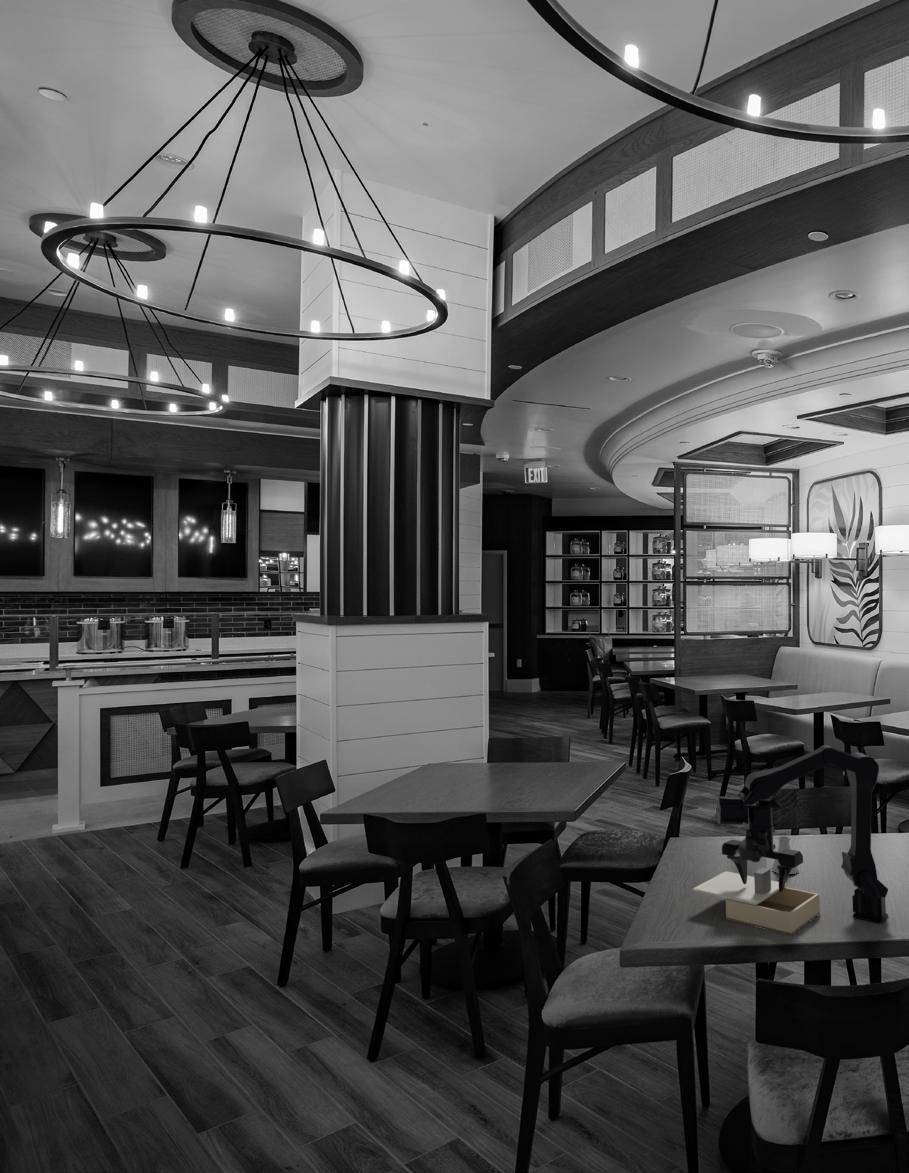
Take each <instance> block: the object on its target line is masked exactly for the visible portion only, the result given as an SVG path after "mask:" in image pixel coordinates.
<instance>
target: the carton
mask: <svg viewBox="0 0 909 1173" xmlns="http://www.w3.org/2000/svg"><path fill="white" fill-rule="evenodd" d="M820 907H821V906H820V894H819V893H817V892H816V893H815V892H811V891H807V890H806V891H805V890H802V889H797V888H793V887H792V888H791V887H787V886H786V887H784V888H783V891H782V892H779V891H778V892H776V893H775V894H773V895H771V896H770V897H768V898H767V899H765V900H763V901H762V902H760V903H759V904H757V905H753V904H748V903H744V902H740V901H735V900H731V899H727V898H725V917H726V918H725V920H726V921H729V920H730V922H735V923H738V924H742V923H743V924H742V925H746V924H748V925H747V926H750V925H752V926H751V927H754V926H757V927H756V928H758V927H761V928H760V929H762V928H765V929H764V930H766V929H768V930H767V931H770V930H772V931H771V932H774V931H776V932H775V933H778V932H781V933H780V934H782V933H785V934H784V935H786V934H789V935H788V936H790V935H791V936H793V935H794V934H795V933H794V932H796V931H797V930H798V929H799V928H801V927H802V926H803V925H805V924H806V923H808V922H809V921H810V920H812V919H813V918H814V917H815V916H817V915H818V916H820V915H821V912H820V911H821V908H820ZM819 914H820V915H819ZM818 916H817V917H818ZM814 919H815V918H814ZM814 919H813V920H814ZM813 920H812V921H813ZM810 922H811V921H810ZM810 922H809V923H810ZM809 923H808V924H809ZM806 925H807V924H806ZM806 925H805V926H806ZM802 928H803V927H802ZM802 928H801V929H802ZM798 931H799V930H798ZM798 931H797V932H798ZM797 932H796V933H797ZM793 933H794V934H793ZM792 934H793V935H792Z"/></svg>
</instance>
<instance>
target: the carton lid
mask: <svg viewBox="0 0 909 1173" xmlns="http://www.w3.org/2000/svg"><path fill="white" fill-rule="evenodd" d="M771 872H772V871H771V868H761V869H759V870H758V871H756V872H754V877H752V876H747V883H746V884H743V882H742V879H741V877H740V874H737V873H732V872H727V870H726V871H723V872H721V873H719V874H718V875H716V876H714V877H713V878H712V877H711V878H710V879H708V880H707V881H704V882H703V883H701V884H699V885H697V886H695V887H693V888H692V891H693V892H697V893H700V894H701V893H702V894H706V895H708V896H709V895H710V896H713V897H717V898H722V899H731V900H735V901H740V902H744V903H748V904H753V905H757V904H759V903H760V902H762V901H763V900H765V899H767V898H768V897H770V896H771V895H773V894H775V893H776V892H778V891H779V881H776V880H773V879H772V877H771ZM787 886H788V885H787V882H786V883H785V886H784V887H787Z"/></svg>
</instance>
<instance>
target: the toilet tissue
mask: <svg viewBox="0 0 909 1173" xmlns="http://www.w3.org/2000/svg"><path fill="white" fill-rule="evenodd" d="M732 839H733V840H738V841H743V840H744V839H745V837H744V838H743V837H741V838H740V837H739V838H732ZM729 840H731V838H730V839H728V840H727V841H729ZM727 856H728V855H726V871H727V872H732V873H737V874H739V872H738V869H737V867H736V865H735V863H734V862H733V861H732V860H731V859H728V858H727ZM761 868H767V858H766V857H761V858H760V861H758V862H752V861H749V860H747V876H752V877H754V872H756V871H758V870H759V869H761ZM767 869H768V868H767Z"/></svg>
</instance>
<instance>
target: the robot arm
mask: <svg viewBox="0 0 909 1173" xmlns="http://www.w3.org/2000/svg"><path fill="white" fill-rule="evenodd" d="M829 765H834V766H837V767H840V768H842V769H844V770H846V774H847V775H846V776H847V779H848V783H849V786H850V788H851V810H850V811H851V812H850V813H851V814H850V816H851V817H850V818H851V821H850V829H851V830H850V848H849V849H848V852H846V851H845V852H844V851H842V852H841V857H842V863H841V866H840V867H841V869H842V870H843V872H844V874H845V877H847V878H848V879H849V881H851V882H852V884H853V886H854V887H856V888H855V889H854V892H853V893H854V894H853V895H852V897H851V898H852V899H851V900H852V901H851V902H852V912H853V914H852V918H857V919H860V920H866V921H868V922H869V921H870V922H875V923H879V924H880V923H883V921H885V920H886V919H888V917H889V914H888V913H887V910H886V909H887V908H886V907H887V905H886V897H887V894H888V892H889V888H888V887H886V885H885V884H884V883H882V882H881V881H880V880H879V879H878V872H877V867H876V862H875V859H874V856H873V853H872V803H873V802H872V794H873V791H874V789H875V787H876V785H877V782H878V778H879V777H878V776H879V772H880V767H879V764H878V762H877V761H876V760H875V759H874V758H873V757H871V756H869V755H866V754H864V753H863V752H854V753H849V752H846V751H843V750H840V749H837V748H835V747H832V746H829V745H828V744H827V745H826V744H824V745H820V747H819V748H817V749H815V750H812V751H809V752H807V753H805V754H804V755H801V756H800V757H797V758H795V759H793V760H791V761H788V762H787V763H784V764H782V765H780V766H778V767H773V768H769V769H768V768H767V769H763V770H762V769H761V770H759V771H755V772H751V773H749V774H748V775H747V776H746V778H745V781H744V783H745V784H744V786H743V788H742V789H741V790H740V791H739V793H737V796H736V797H732V796H730V797H728V796H717V804H716V809H715V810H716V814H715V815H716V820H717V824H718V825H721V826H722V825H723V826H724V825H726V826H727V825H730V826H735V825H736V826H739V825H740V826H741V825H743V824H744V823H746V821H747V820H748V821H747V822H748V828H747V829H746V830H745V837H744V838H745V839H744V840H743V841H738V840H733V839H734V838H732V839H731V838H730V839H731V840H730V839H728V840H729V841H728V840H726V842H724V843H722V846H721V855H724V856H726V859H727V858H728V859H731V860H732V861H733V862H734V863H735V865H736V867H737V869H738V872H739V874H740V877H741V879H742V882H743V884H746V883H747V860H749V861H752V862H758V861H760V858H761V857H766V859H772V860H775V859H776V860H778V862H779V863H780V865H779V866H777V868H778V870H779V874H778V882H779V892H782V891H783V888H784V886H785V883H786V884H787V880H788V878H789V876H790V875H789V873H790V872H791V870H792V868H794V867H797V868H798V866H800V865H802V864H803V863H804V855H803V854H802V852H801V851H800V850H795V849H791V848H790V849H791V850H790V849H785V850H783V851H782V852H778V850H777V851H776V850H775V849H776V844H774V833H775V832H776V828H775V827H774V826H773V825H774V824H773V809H779V808H781V804H780V803H779V802H777V800H775V797H773V796H774V795H775V794H777V793H778V792H780V790H781V789H783V787H784V786H786V785H787V784H788V783H791V782H793V781H795V780H797V779H799V778H802V777H803V776H806V775H808V774H811V773H812V772H815V771H817V770H819V769H821V768H824V767H825V766H829ZM727 855H728V856H727Z"/></svg>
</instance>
